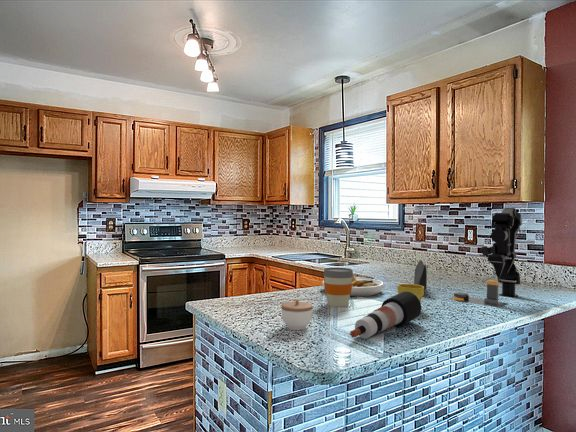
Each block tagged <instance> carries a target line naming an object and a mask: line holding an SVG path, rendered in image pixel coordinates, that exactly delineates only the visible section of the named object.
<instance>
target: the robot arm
mask: <svg viewBox="0 0 576 432" xmlns="http://www.w3.org/2000/svg"><path fill="white" fill-rule="evenodd" d="M491 218H492V219H491V225H490V228H491V229H494V230H492V232H491V233H490V238H491V240H492V241H493V243H492V246H487V245H485V246H481V249H480V254H482V256H483V257H485V256H487V261H488V263H490V264H492V266H493V268H494V269H493V270H494V272H495V275H496V277H497V281H498V284H499V283H501V293H498V296H502V297H509V298H515V297H517V296H519V294H516V285H521V275H520V273H519V271H518V268H517V266H516V265H515V259H517V253H516V238H517V234H518V233H519V232H520V230H521V226H522V224H523V217H522V214H521V213H519V212H518V211H517V209H516V208H515V207H504V208H503V209H502V210H501V212H495V213H494V214H493V215H492V216H491Z"/></svg>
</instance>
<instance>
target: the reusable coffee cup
mask: <svg viewBox="0 0 576 432" xmlns="http://www.w3.org/2000/svg"><path fill="white" fill-rule="evenodd" d="M353 276H354V273H353V269H352V268H348V267H326V268H324V269H323V277H324V278H325V282H324V286H325V289H324V293H325V295H326V304H327V305H328V306H329V307H335V308H345V307H349V305H350V303H349V302H350V297H351V296H350V294H351V290H352V277H353ZM324 278H323V279H324Z"/></svg>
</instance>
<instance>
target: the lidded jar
mask: <svg viewBox="0 0 576 432" xmlns="http://www.w3.org/2000/svg"><path fill="white" fill-rule="evenodd" d="M280 307H281V318H282V321H283V323H284V325H285V326H286V327H287V328H288V330H293V331H302V330H305V329H306V328H307V327H308V326H309V325H310V323H311V321H312V317H313V309H314V305H313V303H310V302H306V301H299V299H295V301H287V302H283V303H282V304H281V306H280Z"/></svg>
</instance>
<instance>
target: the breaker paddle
mask: <svg viewBox="0 0 576 432" xmlns="http://www.w3.org/2000/svg"><path fill="white" fill-rule="evenodd" d="M486 298H488V299H495V300H498V301H499V282H498V280H492V279H491V280H490V279H488V280H486Z"/></svg>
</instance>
